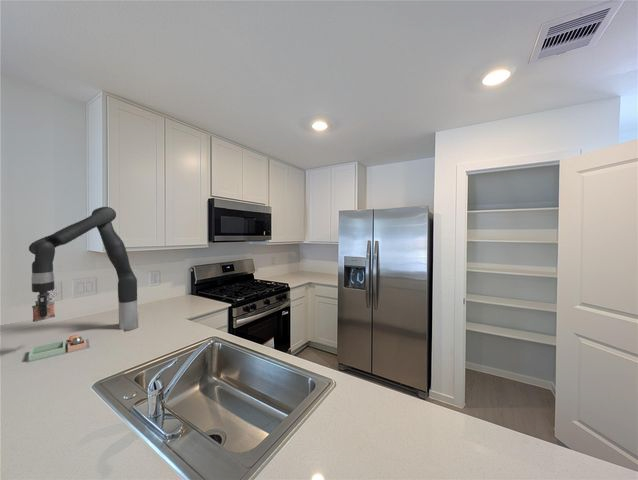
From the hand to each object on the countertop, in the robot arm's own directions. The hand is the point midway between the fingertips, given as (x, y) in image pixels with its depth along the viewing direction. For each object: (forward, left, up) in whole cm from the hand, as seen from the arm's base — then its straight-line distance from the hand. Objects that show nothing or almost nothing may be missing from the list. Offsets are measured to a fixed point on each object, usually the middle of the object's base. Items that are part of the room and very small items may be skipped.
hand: (44, 315), depth 124 cm
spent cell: (-11, +9, -17) cm, 22 cm away
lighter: (0, 0, -2) cm, 2 cm away
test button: (-10, +2, -17) cm, 20 cm away
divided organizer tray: (-5, +6, -18) cm, 20 cm away
